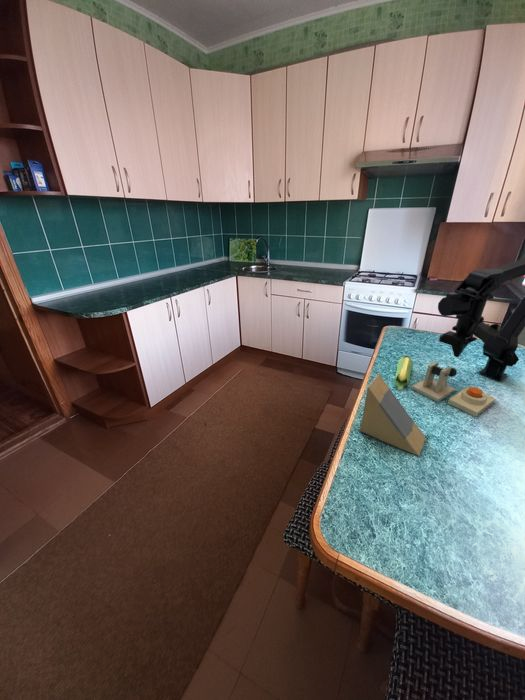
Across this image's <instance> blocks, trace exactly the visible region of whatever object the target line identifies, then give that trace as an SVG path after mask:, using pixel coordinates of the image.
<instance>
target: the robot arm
mask: <svg viewBox="0 0 525 700" xmlns="http://www.w3.org/2000/svg"><path fill="white" fill-rule="evenodd" d="M523 276H525V257H524V258H520V259H519V260H516V261H512V262H510V263H506V264H504V265H501V266H499V267H494V268H480V269H475V270H473V271H470V272H469V273H468V275H467V276H466V277H464V278H465V279H463V281H461V283H460V284H459V285H458V286H457V287H456V288H455V289H454V291H453V292H447V293H446V296H443V298H441V299H440V300H439V301H438V302H437V303H438V304H437V310H438V313H439V314H440V315H441V316H443V317H451V316H455V319H457V320H456V323H455V325H453V326H452V328H451V330H452V331H451V330H449V331H446V332H444V333H442V334H440V335H439V339H438V341H439V342H440V343H443V344H446V345H449V346H451V350H452V352H453V353H452V354H453V356H454V357H455V358H459V357H460V356H461V354H462V353H463V352H464V350H465V349H466V348H467V346H468V345H469V344H471V343H473V342H475V341H476V340H478V339H479V340H480V341H481V342H482V343H483V345H482V355H483V356H485V357H487V361H486V363H485V366H484V368H483V369H481V370H480V371H479V372H478V373H479V374H480V375H482V376H483V375H484V376H485V377H488V378H490V379H493V380H495V381H498V382H499V381H502V379H504V378H505V377H507V376H508V373H505V372H506V370H507V367H514V366H515V365H516V364H517V363H518V362H519V361H520V360H519V357H518V356H517V353H516V351H517V349H518V348H519V338H518V337H519V336H520V335H521V333H522V332H523V330H524V329H525V295H523V297H522V298H521V300H520V302H519V303H518V304H517V306H516V307H515V309H514V310H513V312H512V313H511V315H510V316H509V318H508V319H507V320H506V322H505V324H504V325H503V326H502V328H501V325H500V324H499V323H497V322H495V323H492V324H489V323H485V322H484V321H485V318H484V317H485V316H483V314H484V310H485V307H486V304H487V301H488V300H493V299H494V298H495V296H494V295H493V294H492V292H495V291H496V290H499V289H500V288H501V286H502V285H503V284H504V283H506V282H510V281H512V280H515V279H518V278H521V277H523ZM454 331H455V332H454Z"/></svg>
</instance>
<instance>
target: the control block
mask: <svg viewBox="0 0 525 700" xmlns="http://www.w3.org/2000/svg"><path fill="white" fill-rule="evenodd" d="M469 387H470V386H466V387H464V388H462V389H461V391H459V392H457V393H455V394H454V395H453V396H451V397H450V398H449V399H448V401H447V404H449V405H450V406H453V407H455V408H457V409H459V410H460V411H463V412H464V413H467V414H468V415H470V416H473V417H475V418H476V417H478V416H479V415H480V414H481V413H483V412H484V411H485V410H487V409H488V408H489V407H490V406H492V405H493V404H494V403H495V401H496V399H497V397H494V396H491V395H489V394H487V393H485V392H483V393H482V396H481V398H475V397H472V396H469V395H468V394H467V392H468V389H469Z"/></svg>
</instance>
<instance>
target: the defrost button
mask: <svg viewBox="0 0 525 700" xmlns="http://www.w3.org/2000/svg"><path fill="white" fill-rule="evenodd" d="M468 387H469V389H468V392H467V394H468V395H469V396H472V397H475V398H481V396H482V393H484V391H483V390H482V389H481V388H479V387H476V386H468Z"/></svg>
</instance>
